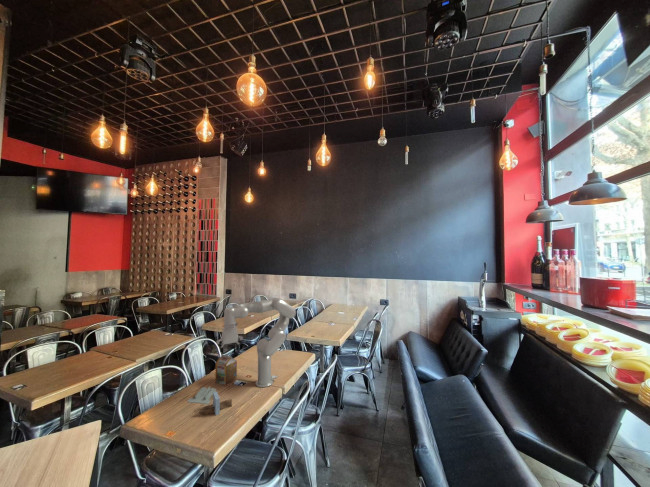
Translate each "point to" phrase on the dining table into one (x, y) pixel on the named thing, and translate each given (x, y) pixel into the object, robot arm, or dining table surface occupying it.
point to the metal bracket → (203, 396)
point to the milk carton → (225, 370)
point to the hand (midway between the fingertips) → (229, 351)
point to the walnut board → (211, 409)
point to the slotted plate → (216, 403)
